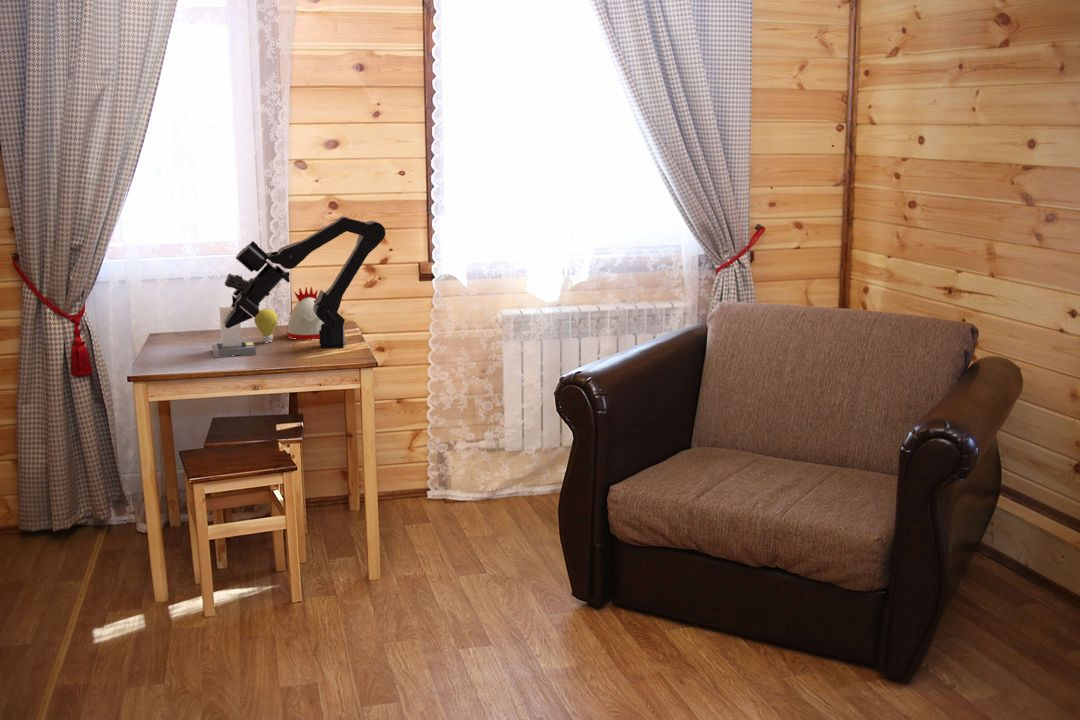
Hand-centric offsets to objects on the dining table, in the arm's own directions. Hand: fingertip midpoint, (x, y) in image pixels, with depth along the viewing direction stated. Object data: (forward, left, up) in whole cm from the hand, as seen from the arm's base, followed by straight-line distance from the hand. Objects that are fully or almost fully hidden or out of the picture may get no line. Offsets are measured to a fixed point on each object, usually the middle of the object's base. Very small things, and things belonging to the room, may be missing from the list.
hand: (225, 324), depth 295 cm
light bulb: (-8, -14, -8) cm, 19 cm away
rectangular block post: (-1, 0, -8) cm, 8 cm away
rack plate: (-1, 0, -8) cm, 8 cm away
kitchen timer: (-19, -24, -8) cm, 32 cm away
